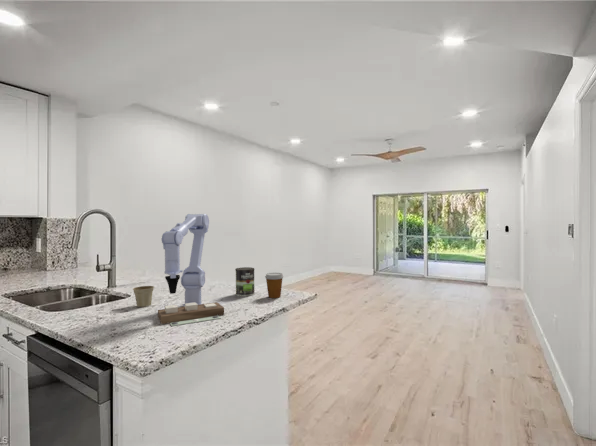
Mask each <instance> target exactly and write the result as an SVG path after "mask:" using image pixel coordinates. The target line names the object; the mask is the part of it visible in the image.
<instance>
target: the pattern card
mask: <svg viewBox="0 0 596 446" xmlns="http://www.w3.org/2000/svg"><path fill="white" fill-rule="evenodd" d="M220 319H221V317H220V315H218V316H211V317H205V318H198V319H192V320H185V321H179V322H172V323H169V325H170V326H171V327H177V326H182V325H188V324H195V323H201V322H202V323H203V322H208V321H214V320H220Z"/></svg>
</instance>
